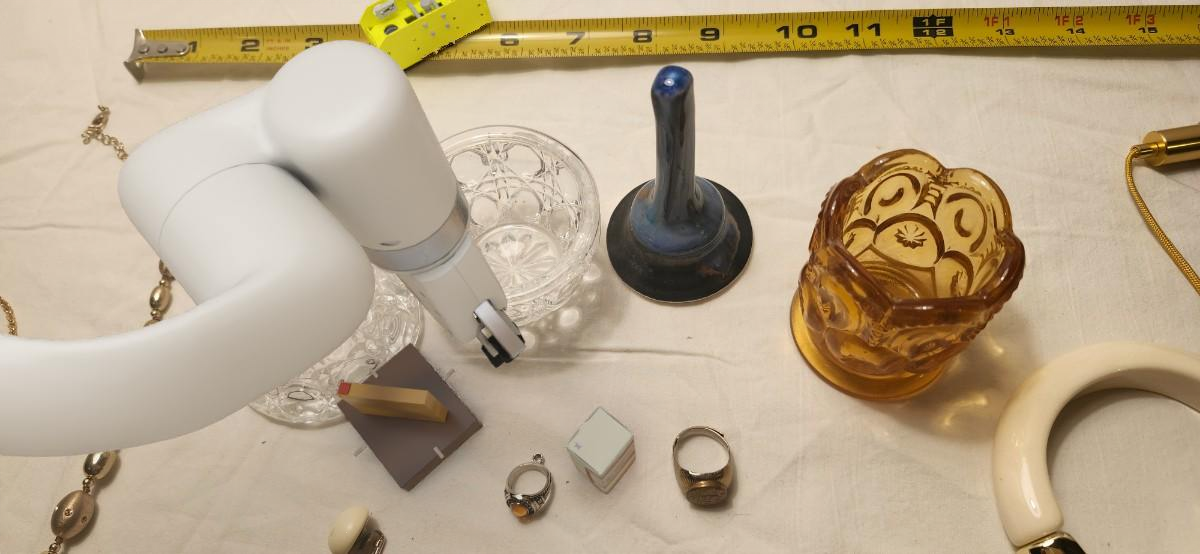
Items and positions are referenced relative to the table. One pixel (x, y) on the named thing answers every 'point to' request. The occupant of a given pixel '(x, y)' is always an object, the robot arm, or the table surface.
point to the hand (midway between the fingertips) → (472, 314)
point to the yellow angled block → (393, 401)
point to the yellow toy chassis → (420, 25)
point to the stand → (412, 421)
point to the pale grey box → (602, 449)
